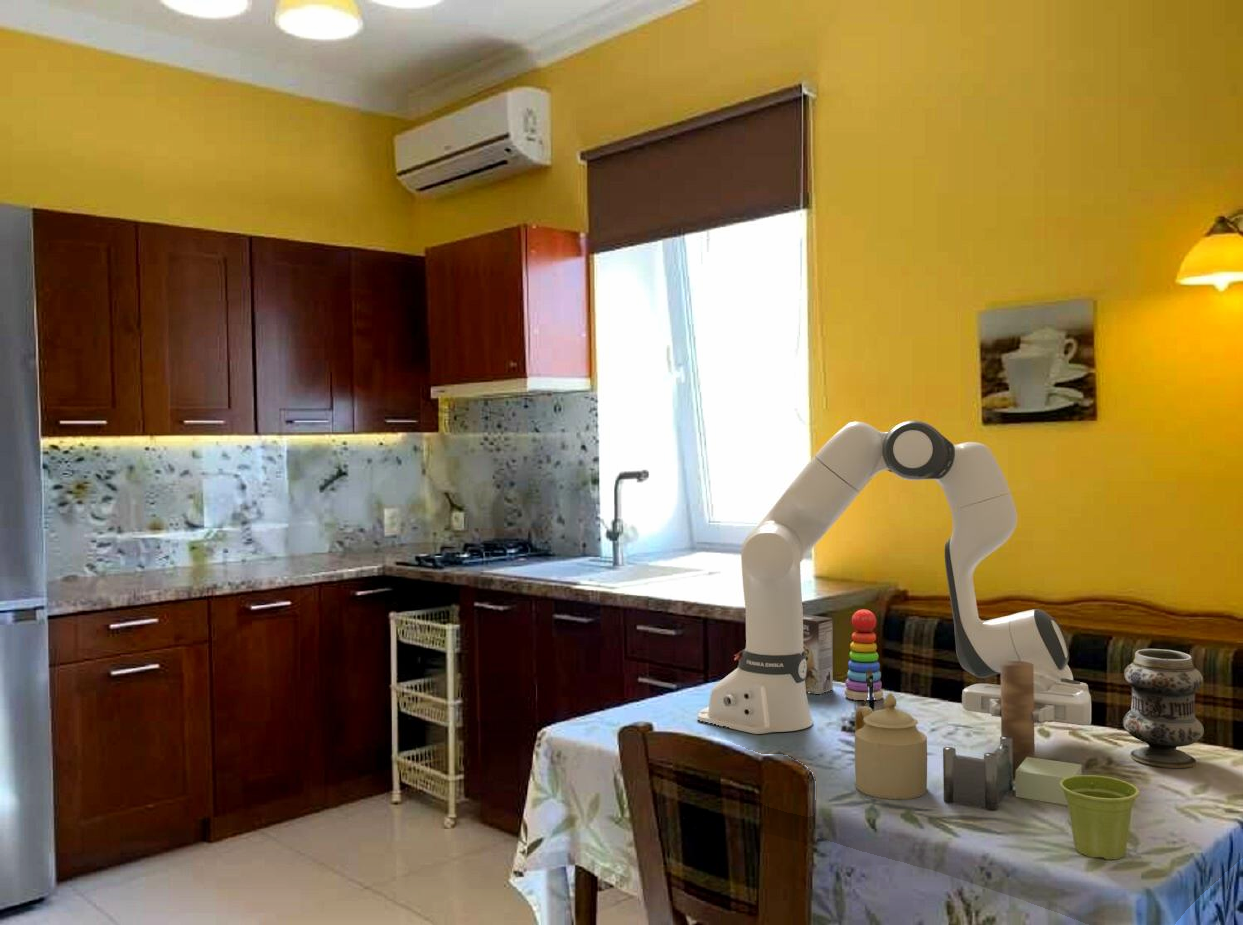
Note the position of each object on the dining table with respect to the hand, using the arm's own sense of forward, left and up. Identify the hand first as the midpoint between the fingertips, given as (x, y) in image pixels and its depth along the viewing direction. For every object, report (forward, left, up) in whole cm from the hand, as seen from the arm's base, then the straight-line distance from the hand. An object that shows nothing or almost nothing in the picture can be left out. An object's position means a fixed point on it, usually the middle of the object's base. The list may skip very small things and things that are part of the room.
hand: (1016, 714), depth 166 cm
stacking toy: (-39, +37, -10) cm, 55 cm away
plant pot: (+16, -26, -10) cm, 32 cm away
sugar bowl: (-17, -15, -10) cm, 25 cm away
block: (+6, -6, -10) cm, 13 cm away
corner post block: (-3, -12, -10) cm, 16 cm away
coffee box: (-52, +38, -10) cm, 65 cm away
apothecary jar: (+19, +21, -10) cm, 30 cm away
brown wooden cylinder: (0, +1, -10) cm, 10 cm away
